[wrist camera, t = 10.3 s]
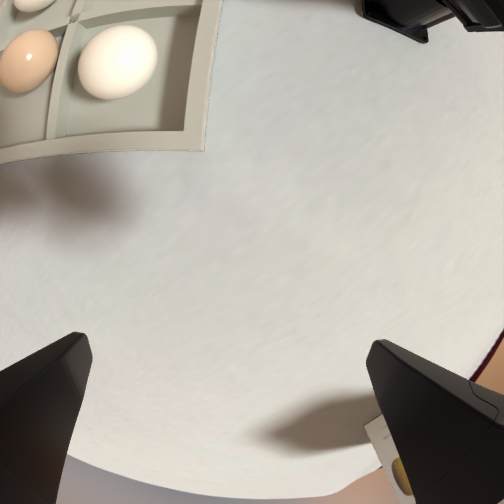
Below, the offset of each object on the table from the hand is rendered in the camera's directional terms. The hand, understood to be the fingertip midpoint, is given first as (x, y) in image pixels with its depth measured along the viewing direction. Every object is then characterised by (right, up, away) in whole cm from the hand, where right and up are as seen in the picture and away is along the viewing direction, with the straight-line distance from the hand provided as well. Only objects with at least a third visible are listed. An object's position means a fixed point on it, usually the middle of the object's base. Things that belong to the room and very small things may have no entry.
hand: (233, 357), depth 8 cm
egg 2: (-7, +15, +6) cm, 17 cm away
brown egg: (-16, +15, +4) cm, 22 cm away
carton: (-12, +20, +5) cm, 23 cm away
